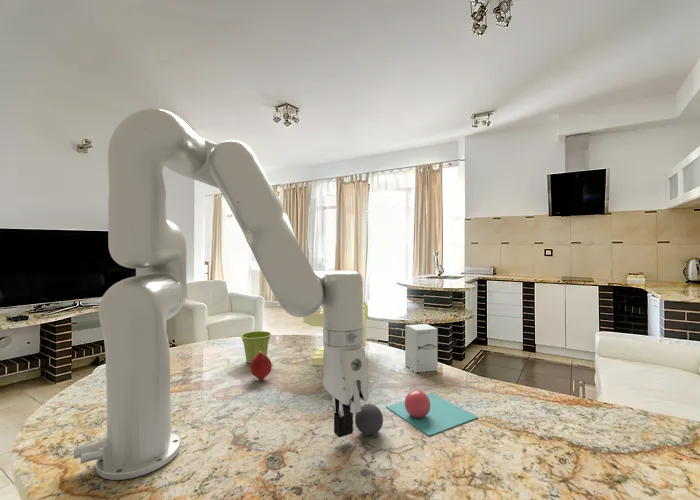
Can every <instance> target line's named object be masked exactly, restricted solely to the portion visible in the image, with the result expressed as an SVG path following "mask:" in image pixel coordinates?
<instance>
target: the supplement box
mask: <svg viewBox="0 0 700 500" xmlns="http://www.w3.org/2000/svg"><path fill="white" fill-rule="evenodd" d="M404 327H405V329H404V331H405V334H404V336H405V337H404V340H405V341H404V342H405V343H404V344H405V345H404V346H405V348H404V349H405V350H404V352H405V353H404V354H405V355H404V360H405V361H404V366H406V365H407V366H408V367H409V368H411V369H412V370H413V371H414V372H413V371H412V370H411V369H410V370H411V371H412V372H413V373H414V374H418V373H417V372H419V373H425V372H426V371H427V372H436V371H438V362H439V360H438V353H439V351H438V340H439V339H438V338H439V337H438V332H439V330H438V328H437V327H435V326H432V325H430V324H428V323H421V324H417V323H416V324H406V325H405V326H404ZM407 366H406V367H407ZM408 367H407V368H408ZM409 368H408V369H409ZM427 372H426V373H427Z"/></svg>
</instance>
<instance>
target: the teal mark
mask: <svg viewBox="0 0 700 500" xmlns="http://www.w3.org/2000/svg"><path fill="white" fill-rule="evenodd" d="M425 394H426V393H425ZM426 395H427V396H428V398H429V400H430V404H431V407H430V411H429V413H428V414H427V415H426V416H425V417H423V418H414V417H412V416H411V415H409V413H408V412H407V411H406V408H405V400H404V401H400V402H397V403H396V402H395V403H392V404H390V405H386V406H385V408H386V409H388V410H389V411H391V412H392V413H393V414H395V415H397V416H398V417H400V418H401V419H403V420H404V421H406V422H408V423H409V424H410V425H411V426H413V427H414V428H416V429H418V430H419V431H420V432H422V433H424V434H425V435H426V436H428V437H432V436H434V435H436V434H440V433H442V432H445V431H448V430H450V429H452V428H455V427H458V426H461V425H464V424H466V423H468V422H472V421H473V420H476V419H479V416H477V415H475V414H473V413H471V412H470V411H468V410H465V409H464V408H462V407H460V406H458V405H456V404H454V403H452V402H450V401H448V400H446V399H444V398H442V397H441V396H438V395H437V394H435V393H433V392H430V393H427V394H426Z"/></svg>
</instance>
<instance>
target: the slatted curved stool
mask: <svg viewBox="0 0 700 500" xmlns="http://www.w3.org/2000/svg"><path fill="white" fill-rule="evenodd" d="M368 315H369V307H368V303H367V302H366V301H365V300H364V299H363V345H362V346H363V347H364V350H365V348H366V342H367V341H366V336H367V335H366V334H367V331H366V329H367V327H366V326H367V320H369V316H368ZM302 319H303V321H302V322H303V324H305V325H308V326H311V327H321V328H323V307H322V306H321V309H320V312H319V313H317V312H315V313H313V314H311V315H309V316H306V317H302ZM323 356H324V347H319V348H318V349H317V351H316V352H315V353H314V354H313V356H312V357H311V361H310V362H311V363H310V365H311V366H322V367H323Z"/></svg>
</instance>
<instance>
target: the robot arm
mask: <svg viewBox="0 0 700 500" xmlns="http://www.w3.org/2000/svg"><path fill="white" fill-rule="evenodd" d="M164 167H165V168H167V169H169V170H171V171H173V172H174V173H176V174H178V175H181V176H184V177H186V178H189V179H192V180H194V181H198V182H201V183H203V184H206V185H208V186H211V187H214V188H217V189H219V191H220V192H221V194H222V197H223V198H224V200H225V202H226V203H227V206H228V208H229V209H230V211H231V213H232V215H233V216H234V218H235V221H236V222H237V224H238V225H239V227H240V229H241V231H242V233H243V235H244V237H245V240H246V243H247V245H248V247H249V248H250V250H251V252H252V254H253V256H254V258H255V261H256V264H257V265H258V267H259V269H260V272H261V273H262V275H263V277H264V279H265V280H266V282H267V284H268V286H269V288H270V290H271V292H272V293H273V296H274V297H275V299H276V300H277V303H278V304H279V305H280V307H281V308H282V310H284V311H285V312H286V313H287V314H289V315H291V316H293V317H296V318H303V317H306V316H309V315H311V314H313V313H317V311H318V310H319V309H320V308H322V307H323V327H322V344H323V345H322V346H323V348H324V356H323V366H322V382H323V387H324V389H325V390H326V391H327V393H328V394H329V395H330V396H331V400H332V410H333V432H334V434H335V435H336V436H337V438H342V437H346V436H349V435H351V434H353V432H354V414H356V413H358V412H361V406H362V405H361V400H362V401H364V402H365V401H368V400H369V376H368V375H369V373H368V372H369V371H368V364H367V356H366V350H365V349H364V347H363V346H362V345H363V300H364V298H363V297H364V294H363V293H364V290H363V289H364V288H363V287H364V285H363V284H364V282H363V276H362V273H360V272H359V271H355V270H342V269H341V270H329V271H318V270H317V271H316V270H313V267H312V265H311V264H310V262H309V260H308V258H307V257H306V253H304V251H303V249H302V246H301V245H300V243H299V241H298V239H297V237H296V234H295V232H294V229H293V227H292V224H291V220H290V218H289V215H288V213H287V211H286V209H285V208H284V205H283V203H282V202H281V200H280V198H279V196H278V195H277V192H276V191H275V189H274V187H273V185H272V184H271V182H270V180H269V178H268V176H267V174H266V172H265V171H264V169H263V167H262V164H261V163H260V161H259V159H258V158H257V156H256V154H255V152H254V151H253V150H252V149H251V147H250V146H249V145H247V144H246V143H244V142H242V141H240V140H234V139H228V140H223V141H221V142H219V143H218V144H217V143H216V142H213V141H211V140H210V141H209V139H205V138H202V137H200V136H199V135H198V134H197V133H196V132H195V131H194V130H193V129H192V128H191V127H190V126H189V124H187V123H186V122H185V121H184V120H183V119H182V118H180V117H179V116H178V115H176V114H174V113H172V112H170V111H169V110H165V109H162V108H157V107H152V108H143V109H140V110H137V111H135V112H132V113H131V114H129V115H128V116H126V117H125V118H124V119H122V120H121V121H120V122H119V124H118V125H117V126H116V128H115V129H114V130H113V132H112V134H111V136H110V139H109V142H108V149H107V170H108V171H107V174H108V175H107V176H108V198H107V199H108V202H107V203H108V206H107V207H108V208H107V209H108V211H107V214H108V219H107V221H108V223H107V224H108V227H107V228H108V231H107V232H108V234H107V235H108V236H107V239H108V243H107V244H108V251H109V254H110V257H111V258H112V260H113V261H114V262H116V263H117V264H118V265H119V266H122V267H123V268H124V267H125V268H127V269H128V268H129V269H135V276H130V277H127V278H124V279H121V280H120V281H117V282H116V283H114V284H112V285H111V286H110V287H109V288H108V289H107V290H106V291H105V292H104V294H103V295H102V297H101V300H100V302H99V307H98V318H99V324H100V328H101V332H102V337H103V342H104V352H105V354H104V355H105V378H106V383H105V384H106V388H105V389H106V432H105V437H103V438H99V439H98V440H97V441H95V442H91V443H85V444H80V445H75V446H74V450H73V460H77V459H80V464H85V463H89V462H91V461H95V460H96V462H95V472H96V474H97V475H98V476H99V477H101V478H102V479H103V478H104V479H106V480H111V481H113V480H114V481H121V480H128V479H133V478H137V477H140V476H145V475H147V474H149V473H151V472H152V473H153V472H154V471H156V470H158V469H160V468H162V467H164V466H165V465H167V464H168V463H169V462H171V461H172V460H173V459H174V458H175V457H176V456H177V455H178V453H179V452H180V450H181V438H180V437H179V435H177V434H176V433H174V432H172V423H171V422H172V421H171V419H172V418H171V417H172V415H171V414H172V413H171V353H170V344H169V343H170V342H169V336H168V334H167V329H166V321H168V320H171V318H173V317H174V316H175V315H177V314H178V313H179V312H180V311H181V310H182V309H183V307H184V304H185V303H186V298H187V245H186V244H187V243H186V238H185V235H184V233H183V231H182V230H181V228H179V226H178V225H177V224H175V223H174V222H173V221H170V220H169V219H167V209H166V208H167V206H166V203H167V202H166V201H167V191H166V186H165V185H166V184H165V180H164V175H163V171H164Z"/></svg>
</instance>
